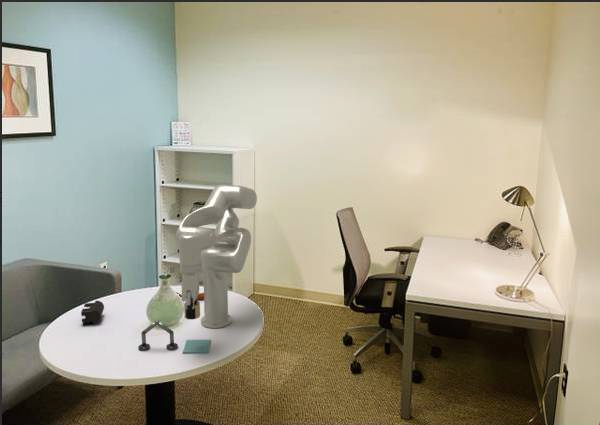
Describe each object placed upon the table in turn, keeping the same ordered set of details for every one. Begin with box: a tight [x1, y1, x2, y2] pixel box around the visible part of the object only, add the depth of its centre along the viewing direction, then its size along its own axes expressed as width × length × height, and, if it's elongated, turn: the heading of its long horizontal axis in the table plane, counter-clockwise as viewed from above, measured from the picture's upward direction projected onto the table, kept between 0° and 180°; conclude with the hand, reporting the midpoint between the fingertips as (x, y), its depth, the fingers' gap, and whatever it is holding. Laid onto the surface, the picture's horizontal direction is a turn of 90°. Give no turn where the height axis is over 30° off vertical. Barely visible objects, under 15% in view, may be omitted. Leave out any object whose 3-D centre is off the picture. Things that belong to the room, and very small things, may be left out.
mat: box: [182, 339, 212, 355], centre depth 175 cm, size 9×9×1 cm
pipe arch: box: [137, 319, 179, 352], centre depth 173 cm, size 4×14×11 cm, turn 94°
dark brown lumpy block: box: [80, 300, 105, 327], centre depth 194 cm, size 10×7×7 cm
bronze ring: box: [183, 300, 201, 320], centre depth 172 cm, size 5×5×5 cm
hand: (192, 314), depth 172 cm, fingers closed on bronze ring, 5 cm apart
